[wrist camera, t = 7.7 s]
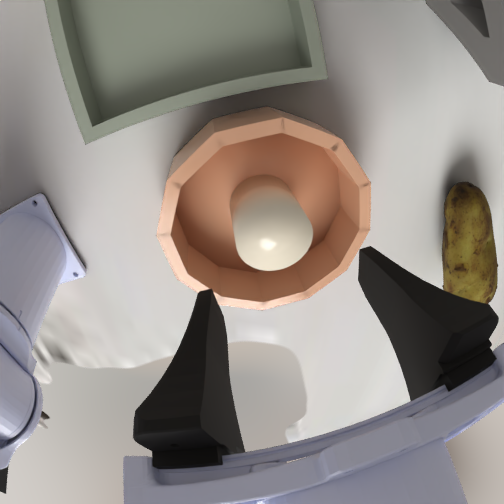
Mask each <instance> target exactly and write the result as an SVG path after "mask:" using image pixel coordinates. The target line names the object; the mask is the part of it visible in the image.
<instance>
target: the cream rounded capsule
mask: <svg viewBox="0 0 504 504" xmlns="http://www.w3.org/2000/svg"><path fill="white" fill-rule="evenodd" d="M229 207H230V214H231V220H232V226H233V231H234V237H235V243H236V248H237V251H238V254H239V256H240V257H241V259H242V260H243V261H244V262H245V263H246V264H248V265H249V266H251V267H253V268H256V269H259V270H264V271H274V270H280V269H284V268H286V267H289V266H291V265H293V264H294V263H296V262H297V261H299V260H300V259H301V258H302V257H303V256H304V255H305V254H306V252H307V251H308V249H309V247H310V245H311V242H312V238H313V229H312V225H311V222H310V220H309V219H308V217H307V215H306V214H305V212H304V210H303V209H302V207H301V206H300V204H299V202H298V201H297V199H296V198H295V196H294V194H293V193H292V191H291V190H290V188H289V186H288V185H287V184H286V183H285V182H284V181H283V180H281V179H280V178H278V177H275V176H272V175H265V174H263V175H255V176H252V177H249V178H247V179H246V180H244V181H242V182H241V183H240V184H239V185H238V186H237V187H236V188H235V190H234V191H233V193H232V195H231V198H230V204H229Z"/></svg>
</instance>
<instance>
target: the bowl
mask: <svg viewBox="0 0 504 504" xmlns="http://www.w3.org/2000/svg"><path fill="white" fill-rule="evenodd" d="M263 174H265V175H272V176H275V177H278V178H280V179H281V180H283V181H284V182H285V183H286V184H287V185H288V186H289V188H290V190H291V191H292V193H293V194H294V196H295V198H296V199H297V201H298V202H299V204H300V206H301V207H302V209H303V210H304V212H305V214H306V215H307V217H308V219H309V220H310V222H311V225H312V229H313V238H312V242H311V245H310V247H309V249H308V251H307V252H306V254H305V255H304V256H303V257H302V258H301V259H300V260H299V261H297V262H296V263H294V264H293V265H291V266H289V267H286V268H284V269H280V270H274V271H264V270H259V269H256V268H253V267H251V266H249V265H248V264H246V263H245V262H244V261H243V260H242V259H241V257H240V256H239V254H238V251H237V248H236V243H235V237H234V231H233V226H232V220H231V214H230V207H229V204H230V198H231V195H232V193H233V191H234V190H235V188H236V187H237V186H238V185H239V184H240V183H241V182H242V181H244V180H246V179H247V178H249V177H252V176H255V175H263ZM370 212H371V182H370V181H369V179H368V177H367V176H366V174H365V173H364V171H363V170H362V168H361V167H360V165H359V164H358V162H357V161H356V159H355V158H354V156H353V155H352V153H351V152H350V150H349V149H348V147H347V146H346V145H345V143H344V142H343V140H342V139H341V138H339V137H338V136H336V135H335V134H333V133H331V132H330V131H328V130H327V129H325V128H323V127H322V126H320V125H318V124H317V123H314V122H311V121H309V120H306V119H303V118H301V117H298V116H295V115H292V114H289V113H286V112H283V111H280V110H277V109H274V108H271V107H268V106H266V107H261V108H256V109H251V110H247V111H242V112H238V113H234V114H229V115H225V116H221V117H217V118H214V119H212V120H211V121H210V122H209V123H208V124H206V125H205V126H204V127H203V128H202V129H201V130H200V131H199V132H198V133H197V134H196V135H195V136H194V137H193V138H192V139H191V140H190V141H189V142H188V143H187V144H186V145H185V146H184V147H183V148H182V149H181V150H180V151H179V152H178V153H177V154H176V155H175V156H174V158H173V161H172V165H171V168H170V171H169V175H168V178H167V182H166V187H165V192H164V197H163V202H162V207H161V213H160V218H159V224H158V229H157V235H156V236H157V238H158V240H159V242H160V244H161V247H162V249H163V251H164V253H165V255H166V257H167V259H168V262H169V264H170V266H171V268H172V270H173V272H174V274H175V276H176V278H177V280H179V281H180V282H182V283H183V284H185V285H186V286H188V287H190V288H191V289H193V290H194V291H196V292H197V293H199V291H203V290H207V289H211V288H212V290H213V292H214V295H215V297H216V300H217V302H218V304H219V305H224V306H232V307H240V308H248V309H256V310H265V309H269V308H273V307H277V306H281V305H285V304H288V303H292V302H296V301H300V300H303V299H307V298H309V297H311V296H312V295H313V294H315V293H316V292H318V291H319V290H320V289H322V288H323V287H325V286H326V285H327V284H329V283H330V282H331V281H333V280H334V279H335V278H337V277H338V276H339V275H341V274H342V273H343V272H345V271H346V270H347V269H348V267H349V265H350V264H351V262H352V260H353V259H354V257H355V255H356V253H357V252H358V250H359V248H360V247H361V245H362V243H363V241H364V239H365V238H366V236H367V234H368V232H369V231H370Z"/></svg>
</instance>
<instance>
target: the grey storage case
mask: <svg viewBox="0 0 504 504" xmlns="http://www.w3.org/2000/svg"><path fill="white" fill-rule="evenodd" d="M425 1H426V4H427V5H428V6H429V7H430V8H431V9H432V10H433V11H434V12H435V13H436V14H437V15H438V16H439V17H440V19H441V20H442V21H443V22H444V23H445V24H446V25H447V26H448V27H449V29H450V30H451V31H452V32H453V33H454V35H455V36H456V37H457V38H458V39H459V41H460V42H461V43H462V44H463V46H464V47H465V48H466V49H467V51H468V52H469V53H470V55H471V56H472V57H473V59H474V60H475V62H476V63H477V64H478V66H479V67H480V69H481V70H482V72H483V73H484V75H485V76H486V78H487V79H488V81H489V82H492V83H495V84H498V85H501V86H504V0H425Z"/></svg>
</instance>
